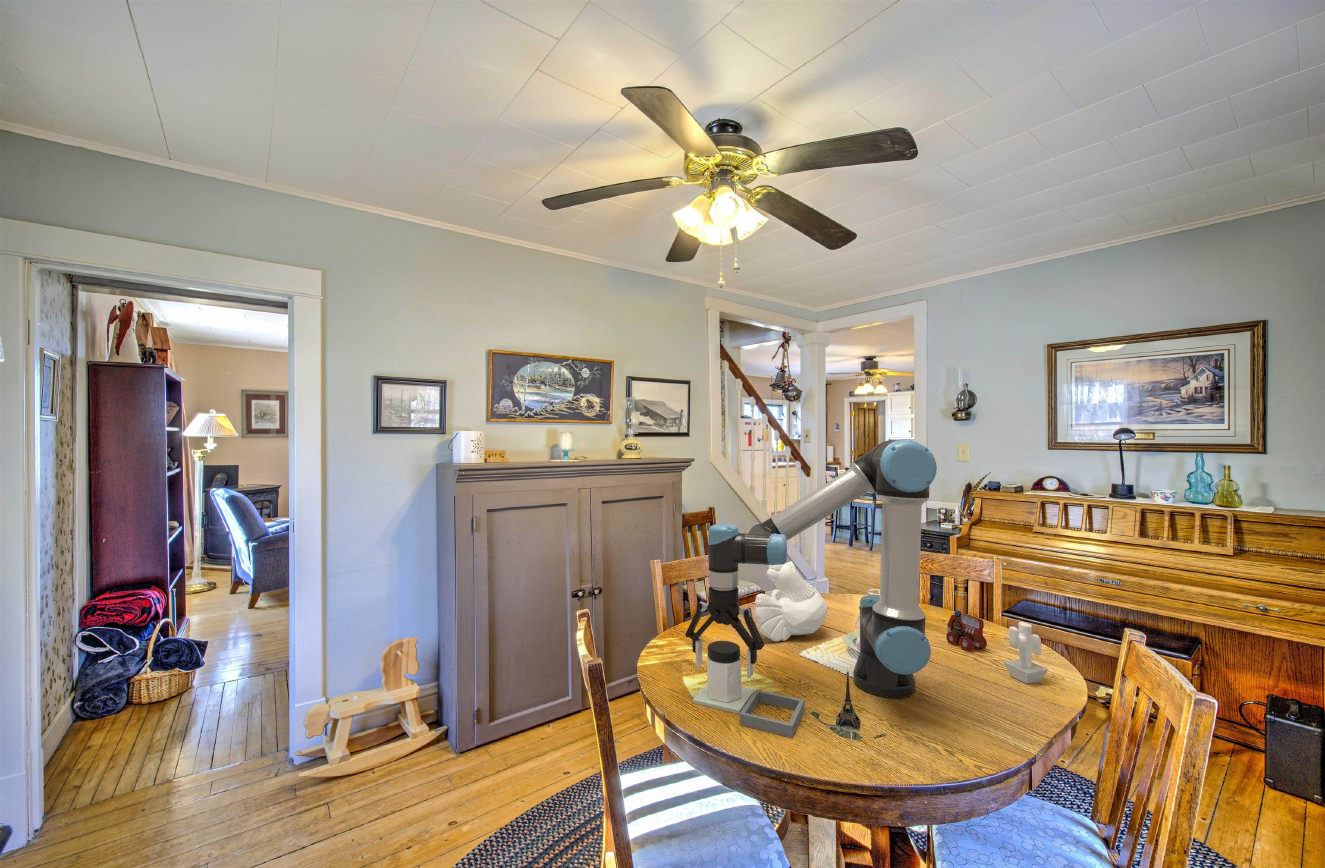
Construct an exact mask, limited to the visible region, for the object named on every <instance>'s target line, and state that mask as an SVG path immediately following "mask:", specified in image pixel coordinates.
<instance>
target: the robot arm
mask: <svg viewBox="0 0 1325 868" xmlns="http://www.w3.org/2000/svg"><path fill="white" fill-rule="evenodd" d="M937 469H938V466H937V461H936V458H935V455H934V454H933V453H932V452H931V451H930V449H929V448H928V447H926V446H925V445H924V444H921V443H919V442H917V441H914V440H911V439H889V440H885V441H883V442H881V443H879V444H877V445H876V446H874V447H873V448H871V449H869V451H867V452H866V453H864V454H863V455H862V456H861V457H859V458H857V459H856V460H854V461H853V462H851V465H850V467H849V469H846V470H845V471H843V472H842V473H840V474H839V475H837V476H836V477H833V479H831V480H830V481H828V482H826V483H824V484H823V485H821V486H820V487H818V488H816V489H815V490H813V491H811V492H810V493H808V494H807V495H805V496H803V497H802V498H800V499H798V500H797V501H795V502H793V503H792V504H790V505H789V506H787V507H786V508H784V509H782V510H780V511H779V512H778V513H776V514H774V515H772V516H771V517H770V518H768V519H766V520H765V521H763V522H760V523H756V524H754V525H753V526H752V527H751V528H750V530H749V531H748V533H745V532H744V533H742V532H739V528H738V526H737V525H736V524H732V523H731V524H729V523H717V524H713V525H711V526H710V527H709V529H708V538H707V539H708V540H707V541H708V542H707V543H708V544H707V552H708V557H707V558H708V560H707V562H708V585H709V587H708V603H706V602H705V601H703V600H701V601H700V602H698V603H697V604H696V611H695V614H694V616H693V617H692V619H691V622H690V623H689V626H688V627H687V630H686V631H685V634H684V635H685V637H686V638H689V639H691V641H692V643H691V644H692V653H695V668H700V667H701V666H702V665H703V638H700V637H701V636H702V635H703V634H704V633H705V631H706V630H707V629H708V628H709V627H710V626H711V625H712V624H713V623H714V622H715V623H716V624H719V625H721V624H722V625H725V626H729V625H730V627H732V628H733V629H734V630H735V631H736V632H737V634H738V635H739V637H740V638H741V640H742V641H743V642H744V644H745V645H746V646H747V648H748V649H747V650H746V678H747V679H751V678H752V676H753V675H754V665H756V663H757V661H758V656H757V655H758V651H761V650H762V649H763V648H764V647H765V643H764V639H763V637H762V636H761V632H760V630H759V628H758V626H757V625H756V623H755V620H754V618H753V614H752V608H751V607H749V606H748V607H747V608H740V606H739V605H740V604H739V599H740V598H739V593H740V592H739V588H738V586H739V564H742V565H747V564H748V565H764V566H769V565H783V564H785V563H787V561H788V541H789V540H791V539H793V538H794V537H796V536H798V535H799V534H800V533H802V532H804V531H805V530H808V529H809V528H811V527H812V526H814V525H815V524H817V523H819V522H821V521H822V520H824V519H826V518H827V517H829V516H831V515H832V514H834V513H835V512H838V511H839V510H841V509H842V508H844V507H846V506H847V505H849V504H850V503H852V502H854V501H856V500H857V499H859V498H860V497H862V496H864V495H865V494H867V493H870V494H875V495H876V497H877V498H878V499H879V500H880V501H881V504H882V506H881V507H882V508H881V511H882V512H881V538H880V539H881V544H880V569H879V570H880V572H879V574H880V575H879V576H880V577H879V594H872V595H871V594H869V595H863V596H861V598H860V599H859V606H858V609H859V653H858V657H857V660H856V663H855V665H854V668H853V672H852V673H853V674H852V675H853V678H852V679H853V683H854V684H855V685H856V686H857V687H858V688H859V689H860V690H862V691H864V692H866V693H869V694H871V695H875V696H879V697H883V698H892V699H893V698H894V699H896V698H898V699H899V698H900V699H901V698H906V697H910V696H912V695H913V694H915V692H916V680H915V676H914V674H916V673H919V671H921V670H922V669H924V668H926V666H927V664H928V663H929V661H930V659H931V655H932V649H931V647H932V646H931V644H930V641H929V639H928V637H927V636H926V613H925V611H924V610H923V609H922V608H921V607H920V603H919V602H920V577H921V576H920V574H921V546H922V545H921V544H922V543H921V542H922V541H921V539H922V511H923V510H922V509H923V508H922V507H923V505H924V504H925V503H926V502H927V501H928V500H929V499H930V490H931V489H930V485H931V484H932V483H933V482H934V480H935V478H936V475H937ZM706 610H707V612H708V613H709V615H710V616H709V617H708V619H706V620H705V622H704V623H703V624H702V625H701V626H700V627H699V628H698V629H697V630H696V628H697V626H698V624H699V622H700V620H701V618H702V616H703V614H704V612H706ZM739 615H740V616H741V617H742V618H743V619H744V622H745V625H746V627H747V629H748V630H747V629H746V628H745V626H744V625H743V623H742V621H741V619H740V618H739ZM695 630H696V631H695Z"/></svg>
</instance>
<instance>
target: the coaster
mask: <svg viewBox="0 0 1325 868" xmlns="http://www.w3.org/2000/svg"><path fill="white" fill-rule="evenodd" d="M754 692H755V688H751V687H746V686H742V685H741V698H739V699H736V700H733V701H730V702H728V703H727V702H722V701H718V700H713V699H710V696H709V693H708V690H707V683H706V684H705V685H704V686H703V688H702V689H701V690H700V691H699V693H697V694H696V696H695V697H694V698H693V699H692V703H693V704H696V705H700V706H703V707H704V706H705V707H708V708H713V709H717V710H721V711H726V712H730V713H734V714H740V712H741V711H742V709H743V708H744V706H745V705H746V703H747V702H748V700H749V699H750V698H751V696H752V695H753V693H754Z"/></svg>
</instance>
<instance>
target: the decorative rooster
mask: <svg viewBox="0 0 1325 868" xmlns="http://www.w3.org/2000/svg"><path fill="white" fill-rule="evenodd" d="M766 577H767V579H768V580H771V581H772V583H773V584H774V586H775V588H776V589H773V590H772V592H771V594H770V595H771V596H769V595H767V594H765V593H758V594H757V595H756V596H755V601H754V605H755V606H756V607H755V610H754V616H755V619H756V623H757V624H758V631H759V633H762V635H763V636H765V637H767V638H768V639H770V640H771V641H772V642H776V643H777V642H780V641H782V642H785V641H787V640H788V639H790V637H791V636H804V635H811V634H813V633H815V632H817V631H818V630H819V628H820V627H821V626H822V625H823V624H824V622H825V620H826V618H827V614H828V607H827V603H826V601H825V599H824V598H823V596H822V595H821V593H820V592H819V591H818V590H817V589H816V588H815V587H814V586H813V585H811V584H810V583H809V582H807V581H806V580H805V579H804V578H803V577H802V575H801V574H800V573H799V571H798V569H796V565H795V564H794V562H793V561H788V562H786V563H785V564H783V565H768V569H767V570H766ZM777 595H779V598H778V599H777V597H776V596H777Z"/></svg>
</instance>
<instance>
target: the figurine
mask: <svg viewBox="0 0 1325 868" xmlns="http://www.w3.org/2000/svg"><path fill="white" fill-rule="evenodd" d="M1008 630H1009V631H1008V632H1009V633H1008V636H1009V637H1008V640H1009V644H1010V646H1011V648H1013V649H1018V659H1012V660H1011V659H1010V660H1006V661H1005V660H1004V661H1003V664H1004V666H1005V667H1006V669H1007V671H1008V672H1009V674H1010V675H1011V677H1012V678H1014V679H1016V680H1018V681H1020V682H1022V683H1024V684H1033V683H1040V682H1041V680H1042V679H1043V677H1044V676H1045V675H1046V674H1047V672H1048V671H1049V670H1050V669H1048V668H1047V667H1044V666H1041V664H1040V665H1039V664H1037V663H1034V662H1033V661H1032V660H1033V659H1032V658H1033V657H1032V656H1033V655H1035V656H1036V655H1037V656H1040V655H1042V641H1041V640H1042V639H1041V637H1040V636H1039V635H1038V634H1032V632H1033V625H1032V624H1030V623H1029V622H1025V621H1019V622H1018V627H1016V626H1009V628H1008ZM1032 654H1033V655H1032Z"/></svg>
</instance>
